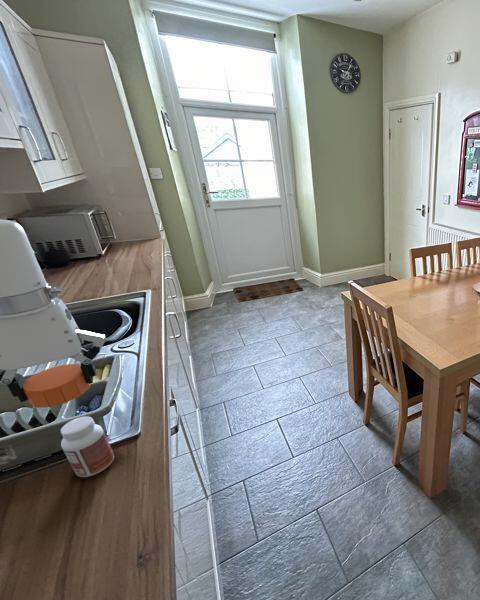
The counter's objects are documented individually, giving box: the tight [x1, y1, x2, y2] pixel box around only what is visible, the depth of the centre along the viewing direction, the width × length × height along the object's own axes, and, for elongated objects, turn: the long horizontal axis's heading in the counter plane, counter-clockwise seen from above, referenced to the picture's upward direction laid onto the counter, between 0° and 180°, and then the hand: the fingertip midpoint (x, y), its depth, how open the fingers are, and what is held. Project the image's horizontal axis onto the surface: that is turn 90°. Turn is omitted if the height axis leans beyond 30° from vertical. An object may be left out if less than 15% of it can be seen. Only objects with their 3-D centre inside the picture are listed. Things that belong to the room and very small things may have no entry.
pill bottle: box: [60, 416, 115, 478], centre depth 66 cm, size 6×6×11 cm
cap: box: [23, 363, 91, 409], centre depth 59 cm, size 8×8×4 cm
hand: (59, 387), depth 59 cm, fingers closed on cap, 8 cm apart
